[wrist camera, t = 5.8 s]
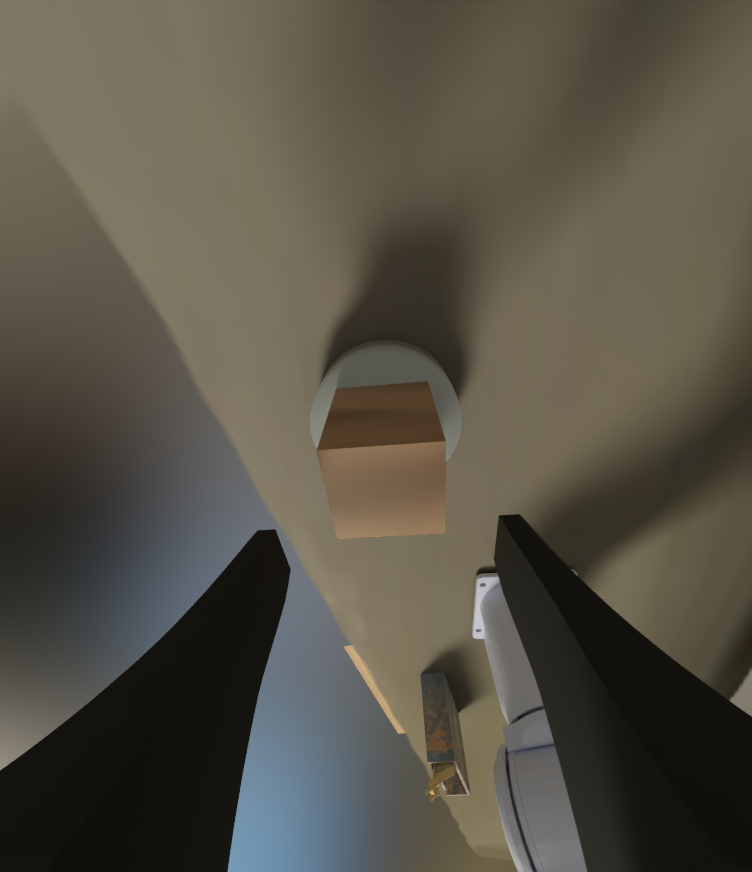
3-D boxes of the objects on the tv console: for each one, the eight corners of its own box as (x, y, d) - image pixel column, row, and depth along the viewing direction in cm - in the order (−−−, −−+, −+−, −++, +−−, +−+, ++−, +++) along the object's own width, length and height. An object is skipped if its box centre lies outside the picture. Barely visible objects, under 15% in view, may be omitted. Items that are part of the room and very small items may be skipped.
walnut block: (429, 456, 18) (444, 533, 14) (349, 462, 19) (337, 538, 14) (427, 380, 16) (445, 441, 11) (336, 388, 16) (316, 450, 12)
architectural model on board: (416, 670, 37) (425, 794, 29) (442, 667, 37) (459, 792, 29) (434, 710, 43) (445, 824, 35) (457, 708, 43) (474, 823, 34)
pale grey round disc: (451, 453, 22) (460, 482, 19) (332, 462, 22) (325, 492, 20) (452, 329, 17) (464, 345, 15) (306, 345, 18) (293, 363, 16)
